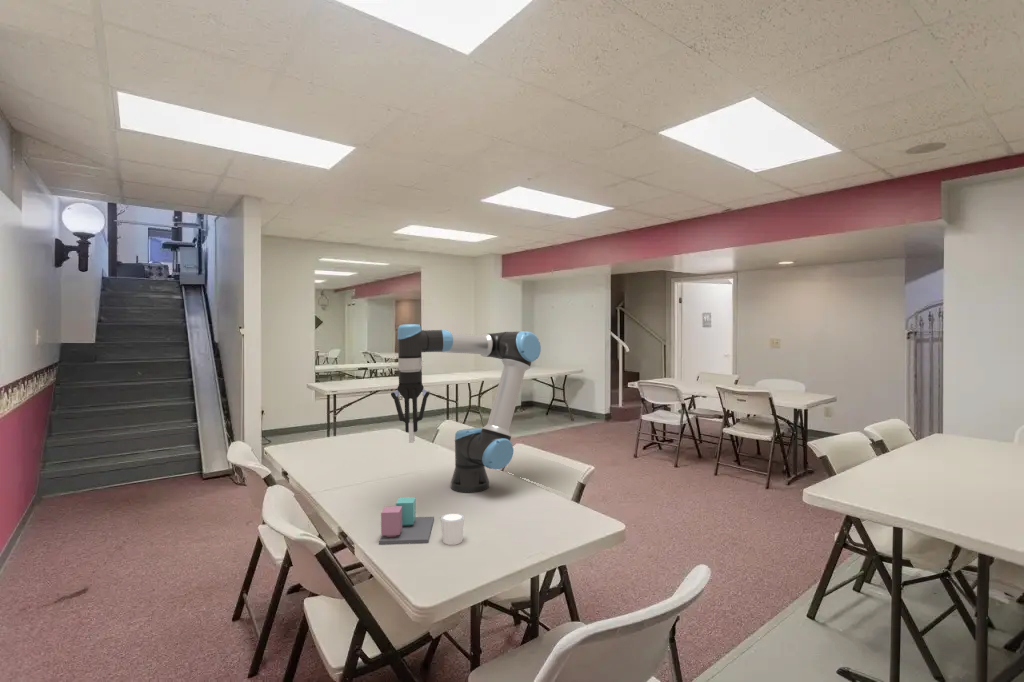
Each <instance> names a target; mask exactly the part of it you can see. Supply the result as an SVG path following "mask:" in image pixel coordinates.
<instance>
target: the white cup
mask: <svg viewBox="0 0 1024 682" xmlns="http://www.w3.org/2000/svg"><path fill="white" fill-rule="evenodd" d="M440 523H441V524H440V525H441V534H442V535H441V536H442V543H443V544H444V545H449V546H454V545H459V544H461V543H462V542H463V539H464V538H463V537H464V528H465V527H464V525H465V515H464V514H462V513H457V512H451V513H450V512H449V513H446V514H442V515H441V517H440Z"/></svg>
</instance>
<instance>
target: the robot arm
mask: <svg viewBox="0 0 1024 682" xmlns="http://www.w3.org/2000/svg"><path fill="white" fill-rule="evenodd" d="M396 339H397V353H398V358H397V362H398V365H397V366H398V370H399V372H398V385H397V387H396V388H397V389H396V390H394V391H392V392H391V393H390V396H391V398H392V399H393V401H394V404H395V408H396V411H397V412H396V413H397V417H398V419H399V421H400V422H403V423H404V425H405V428H404V429H405V432H406V433H408V443H410V444H411V443H412V444H413V443H414V442H415V441H416V440H415V433H417V432H418V428H419V427H418V422H419V421H422V420H423V418H424V415H425V410H426V405H427V401H428V397H430V394H431V391H430V390H427V389H425V388H424V385H423V373H422V371H421V370H422V369H423V367H422V366H423V365H422V362H423V361H422V353H451V354H471V355H473V354H474V355H480V356H481V357H487V358H493V359H499V360H501V362H502V364H503V368H502V371H501V375H500V377H499V382H498V386H497V389H496V392H495V397H494V398H493V403H492V406H491V410H490V414H489V418H488V421H487V424H486V425H485V426H483V427H474V428H473V427H472V428H464V429H459V430H457V431H456V432H455V434H454V455H455V456H454V457H455V459H454V461H455V462H454V463H455V464H454V465H455V468H454V471H453V475H452V477H451V481H450V488H451V490H452V491H455V492H458V493H459V492H460V493H477V492H482V491H485V490H487V489H488V488H489V487H490V479H489V477H488V474H487V471H486V468H487V469H489V470H490V469H492V470H501V469H504V467H507V466H508V464H509V463H511V460H512V458H513V457H514V447H513V443H512V442H511V439H512V434H511V433H510V428H511V423H512V421H513V416H514V413H515V409H516V405H517V402H518V398H519V395H520V391H521V387H522V384H523V380H524V376H525V372H526V371H528V370H529V369H531V366H532V362H534V361H536V360H537V359H538V358H539V357H540V355H541V351H542V349H541V347H542V346H541V342H540V341H539V338H538V336H537V335H536V334H535V333H533V332H531V331H525V330H521V331H503V332H491V333H487V332H485V333H482V334H467V333H454V332H453V333H452V332H451V331H449V330H446V329H431V330H430V329H429V330H428V329H427V330H426V329H425V330H424V329H423V330H422V326H421V325H420V324H417V323H416V324H414V323H412V324H411V323H409V324H406V323H405V324H400V325H399V326H398V328H397V337H396ZM421 394H422V401H421V406H420V409H419V414H418V397H420V395H421ZM400 395H401V397H402V398H403V400H404V413H403V409H402V408H403V407H402V405H401V401H400V397H399V396H400ZM410 399H411V401H412V421H410V417H411V416H410V414H411V413H410Z"/></svg>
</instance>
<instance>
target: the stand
mask: <svg viewBox="0 0 1024 682" xmlns="http://www.w3.org/2000/svg"><path fill="white" fill-rule="evenodd" d="M380 520H381V521H380V525H381V526H380V527H381V528H380V529H381V530H380V532H381V533H380V537H379V539H378V545H382V546H383V545H405V544H409V543H410V544H428V543H429V541H430V537H431V534H432V529H433V525H434V522H435V516H416V518H415V521H414V524H407V525H402V506H396V505H395V506H389V505H388V506H384V508H383V509H382V511H381V512H380ZM410 544H409V545H410Z"/></svg>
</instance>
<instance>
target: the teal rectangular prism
mask: <svg viewBox="0 0 1024 682" xmlns="http://www.w3.org/2000/svg"><path fill="white" fill-rule="evenodd" d="M416 504H417V503H416V497H415V496H413V497H411V496H410V497H398V498H397V501H396V503H395V506H402V525H407V524H414V521H415V518H416V517H417V515H416V513H417V511H416V509H417V508H416Z"/></svg>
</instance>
